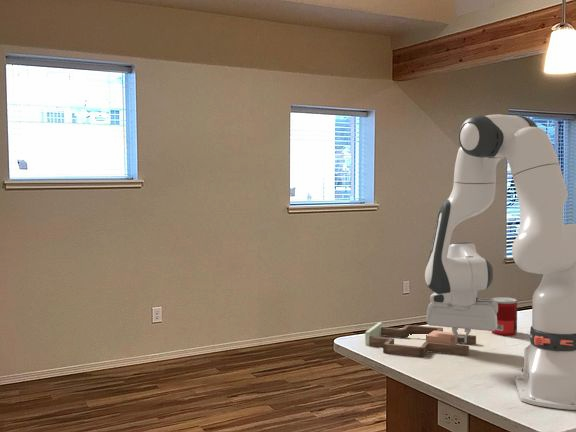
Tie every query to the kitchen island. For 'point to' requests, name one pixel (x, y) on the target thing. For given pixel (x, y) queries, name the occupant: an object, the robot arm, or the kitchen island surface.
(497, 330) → the canned food
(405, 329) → the box
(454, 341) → the block
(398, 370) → the kitchen island surface
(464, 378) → the kitchen island surface
